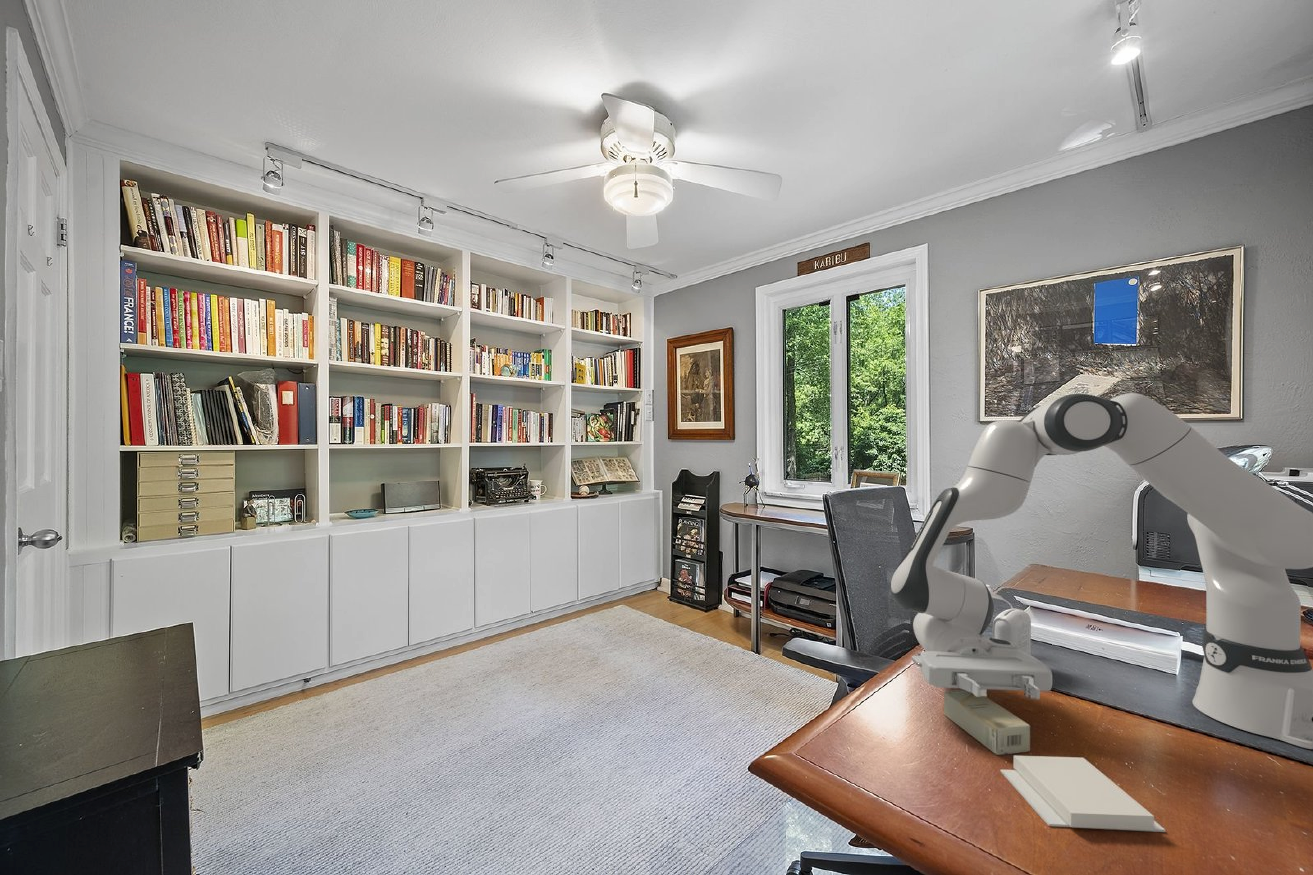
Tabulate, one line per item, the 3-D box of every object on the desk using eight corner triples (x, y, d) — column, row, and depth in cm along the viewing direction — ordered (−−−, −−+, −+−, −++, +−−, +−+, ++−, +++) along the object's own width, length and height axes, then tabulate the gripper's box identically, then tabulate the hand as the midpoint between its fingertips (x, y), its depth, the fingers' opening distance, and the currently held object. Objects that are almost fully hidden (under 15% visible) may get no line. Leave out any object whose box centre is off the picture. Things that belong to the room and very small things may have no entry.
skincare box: (997, 729, 83) (942, 690, 95) (996, 757, 83) (942, 714, 95) (1032, 725, 84) (974, 687, 96) (1031, 752, 84) (973, 711, 96)
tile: (1083, 757, 79) (1154, 816, 67) (1083, 770, 79) (1153, 831, 67) (1013, 755, 80) (1071, 813, 68) (1013, 768, 80) (1071, 828, 68)
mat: (1100, 775, 79) (1100, 773, 79) (1165, 832, 68) (1165, 829, 68) (1000, 771, 80) (1000, 769, 80) (1048, 826, 69) (1048, 823, 69)
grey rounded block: (1011, 658, 119) (1012, 602, 119) (1033, 665, 115) (1034, 608, 115) (988, 669, 113) (989, 611, 113) (1011, 677, 110) (1011, 617, 110)
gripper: (908, 638, 100) (941, 671, 87) (1022, 642, 99) (1075, 676, 85) (907, 671, 100) (941, 710, 87) (1022, 675, 99) (1074, 716, 85)
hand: (1008, 693), depth 86 cm, fingers open, 7 cm apart
